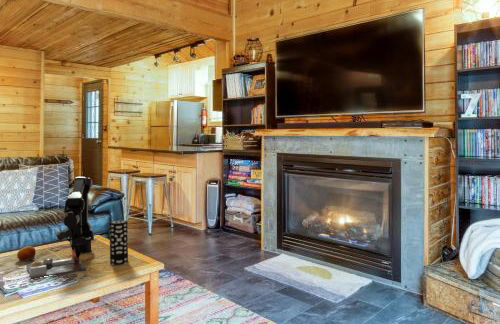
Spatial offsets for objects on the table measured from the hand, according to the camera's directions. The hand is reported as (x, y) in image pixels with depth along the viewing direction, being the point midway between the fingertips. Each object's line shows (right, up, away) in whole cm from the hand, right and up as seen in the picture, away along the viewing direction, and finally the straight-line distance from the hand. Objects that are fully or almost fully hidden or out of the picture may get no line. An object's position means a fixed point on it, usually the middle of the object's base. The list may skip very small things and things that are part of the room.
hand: (75, 255), depth 189 cm
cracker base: (-6, -5, -7) cm, 10 cm away
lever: (-7, -3, -5) cm, 9 cm away
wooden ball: (-10, -5, -15) cm, 19 cm away
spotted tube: (+20, -4, +3) cm, 21 cm away
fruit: (-27, -4, +7) cm, 29 cm away
